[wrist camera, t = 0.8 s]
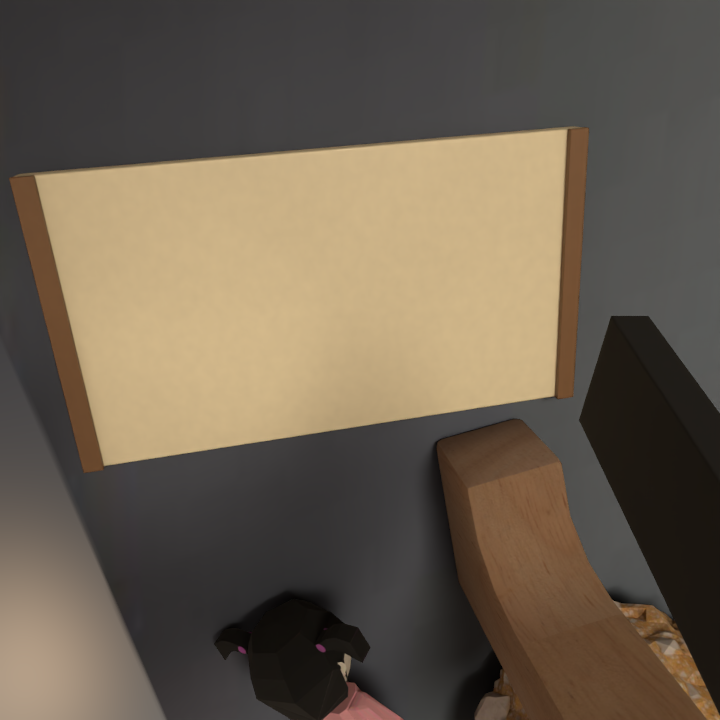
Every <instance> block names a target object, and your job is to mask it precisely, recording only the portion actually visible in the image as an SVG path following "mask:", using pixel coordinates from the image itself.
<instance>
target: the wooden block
mask: <svg viewBox="0 0 720 720" xmlns="http://www.w3.org/2000/svg"><path fill="white" fill-rule="evenodd" d="M437 455H438V461H439V467H440V472H441V478H442V484H443V490H444V496H445V502H446V508H447V514H448V520H449V526H450V532H451V538H452V544H453V550H454V556H455V562H456V568H457V574H458V580H459V583H460V585H461V587H462V589H463V591H464V593H465V595H466V597H467V599H468V601H469V603H470V605H471V607H472V609H473V610H474V612H475V614H476V616H477V618H478V620H479V622H480V624H481V626H482V628H483V630H484V632H485V634H486V636H487V638H488V640H489V642H490V644H491V646H492V648H493V650H494V652H495V654H496V656H497V658H498V659H499V661H500V663H501V665H502V667H503V669H504V671H505V673H506V675H507V677H508V679H509V681H510V683H511V685H512V687H513V689H514V690H515V692H516V694H517V696H518V698H519V700H520V702H521V704H522V706H523V708H524V710H525V712H526V714H527V716H528V718H529V720H707V719H706V717H705V716H704V715H703V714H702V712H701V711H700V710H699V708H698V707H697V706H696V705H695V703H694V702H693V701H692V700H691V698H690V697H689V696H688V695H687V693H686V692H685V691H684V690H683V688H682V687H681V686H680V685H679V683H678V682H677V681H676V680H675V678H674V677H673V676H672V674H671V673H670V672H669V671H668V669H667V668H666V667H665V666H664V664H663V663H662V662H661V661H660V659H659V658H658V657H657V656H656V654H655V653H654V652H653V651H652V649H651V648H650V647H649V646H648V644H647V643H646V642H645V641H644V639H643V638H642V637H641V635H640V634H639V633H638V632H637V630H636V629H635V628H634V627H633V625H632V624H631V623H630V622H629V620H628V619H627V618H626V617H625V615H624V614H623V613H622V612H621V610H620V609H619V608H618V607H617V605H616V604H615V603H614V602H613V600H612V599H611V597H610V596H609V594H608V593H607V591H606V589H605V588H604V586H603V584H602V583H601V581H600V580H599V578H598V576H597V575H596V573H595V572H594V570H593V568H592V567H591V565H590V564H589V562H588V559H587V557H586V554H585V552H584V549H583V547H582V544H581V542H580V539H579V537H578V534H577V532H576V529H575V527H574V524H573V522H572V519H571V517H570V512H569V506H568V500H567V494H566V488H565V482H564V476H563V470H562V464H561V462H560V460H559V459H558V457H557V456H556V455H555V454H554V453H553V452H552V451H551V450H550V449H549V448H548V447H547V446H546V445H545V444H544V443H543V442H542V441H541V440H540V439H539V438H538V437H537V435H536V434H535V433H534V432H533V431H532V430H531V429H530V428H529V427H528V426H527V425H526V424H525V423H524V422H523V421H522V420H520V419H512V420H509V421H505V422H502V423H498V424H495V425H491V426H487V427H484V428H480V429H477V430H473V431H469V432H466V433H462V434H459V435H455V436H452V437H448V438H444V439H441V440H440V441H438V444H437Z"/></svg>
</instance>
